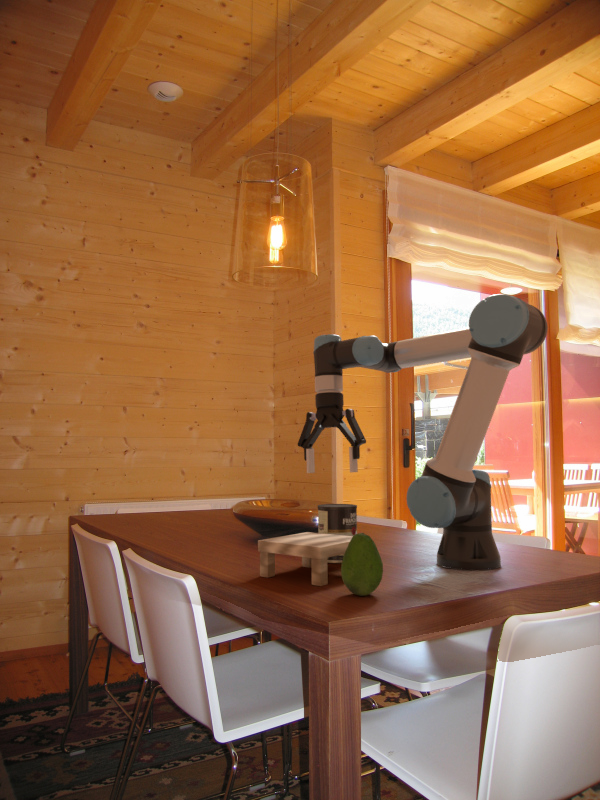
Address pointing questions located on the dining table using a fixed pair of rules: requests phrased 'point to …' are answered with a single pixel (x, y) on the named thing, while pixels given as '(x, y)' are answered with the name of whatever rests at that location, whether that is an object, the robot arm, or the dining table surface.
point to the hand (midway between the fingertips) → (331, 472)
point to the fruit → (361, 565)
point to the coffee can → (337, 522)
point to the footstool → (303, 552)
